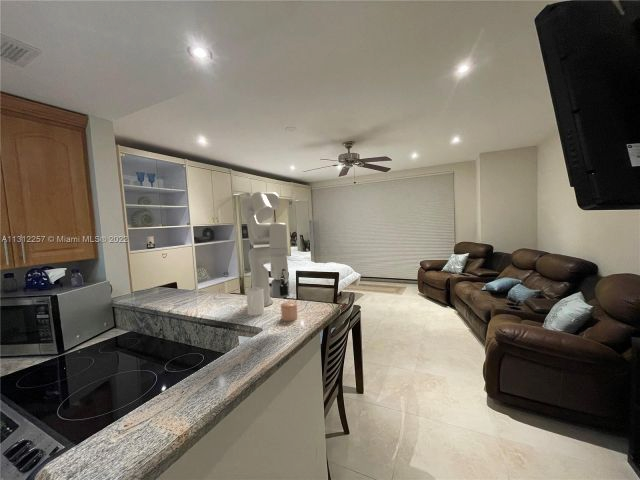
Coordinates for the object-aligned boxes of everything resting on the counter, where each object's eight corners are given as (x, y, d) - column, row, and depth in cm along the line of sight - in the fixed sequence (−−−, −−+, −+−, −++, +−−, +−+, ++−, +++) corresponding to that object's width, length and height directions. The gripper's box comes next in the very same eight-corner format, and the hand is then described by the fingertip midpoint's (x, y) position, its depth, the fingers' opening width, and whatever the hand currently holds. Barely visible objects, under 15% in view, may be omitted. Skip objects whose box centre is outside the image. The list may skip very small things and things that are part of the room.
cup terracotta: (279, 317, 120) (279, 303, 119) (293, 314, 123) (293, 301, 123) (284, 322, 113) (284, 308, 113) (299, 318, 117) (299, 305, 116)
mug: (259, 318, 119) (257, 293, 118) (241, 318, 120) (240, 293, 119) (267, 309, 131) (266, 286, 130) (251, 309, 132) (250, 287, 131)
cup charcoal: (270, 294, 110) (269, 280, 109) (285, 292, 113) (285, 277, 113) (275, 299, 103) (274, 283, 103) (291, 296, 107) (291, 280, 106)
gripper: (264, 251, 113) (266, 289, 114) (276, 254, 98) (279, 299, 99) (280, 249, 116) (282, 287, 118) (294, 253, 101) (296, 296, 102)
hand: (280, 292), depth 108 cm, fingers closed on cup charcoal, 7 cm apart
